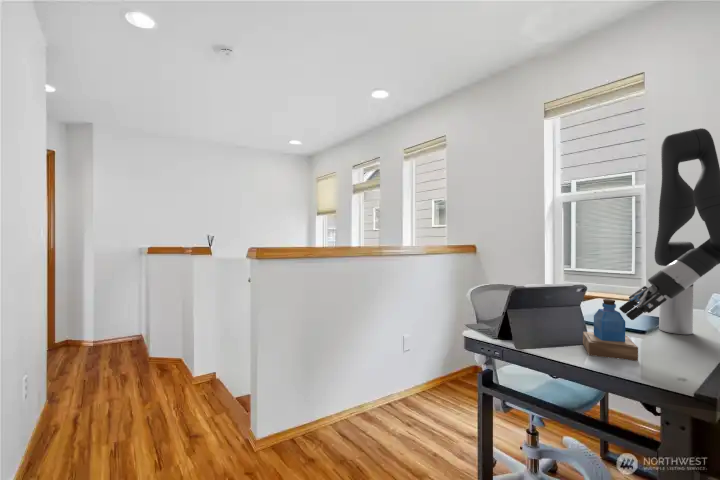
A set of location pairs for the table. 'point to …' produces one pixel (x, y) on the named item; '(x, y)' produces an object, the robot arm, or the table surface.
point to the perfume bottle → (609, 323)
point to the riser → (610, 347)
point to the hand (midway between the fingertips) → (625, 314)
